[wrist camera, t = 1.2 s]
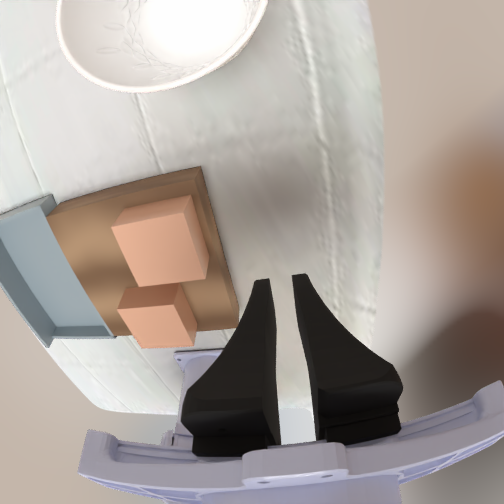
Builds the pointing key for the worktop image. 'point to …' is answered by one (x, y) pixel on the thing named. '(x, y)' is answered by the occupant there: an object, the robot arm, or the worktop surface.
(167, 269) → the tile near
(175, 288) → the tile far
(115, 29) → the white cup
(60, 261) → the tray
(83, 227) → the board
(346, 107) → the worktop surface
